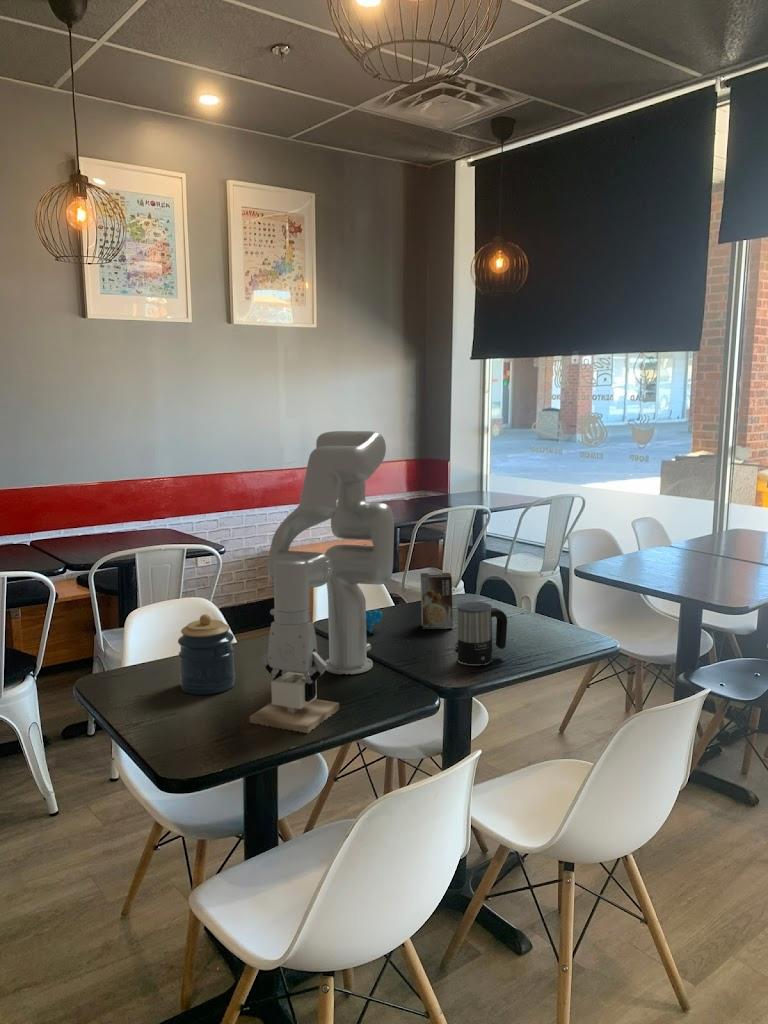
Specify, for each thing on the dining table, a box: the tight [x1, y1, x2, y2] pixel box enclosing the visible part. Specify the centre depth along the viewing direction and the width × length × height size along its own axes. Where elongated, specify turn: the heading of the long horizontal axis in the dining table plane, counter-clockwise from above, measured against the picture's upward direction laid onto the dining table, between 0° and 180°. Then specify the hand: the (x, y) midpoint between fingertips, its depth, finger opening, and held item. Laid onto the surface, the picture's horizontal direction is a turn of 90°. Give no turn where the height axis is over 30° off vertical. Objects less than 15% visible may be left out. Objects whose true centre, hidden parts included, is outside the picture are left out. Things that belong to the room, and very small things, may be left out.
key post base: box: [249, 698, 340, 734], centre depth 171 cm, size 14×14×6 cm
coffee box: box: [420, 572, 454, 628], centre depth 237 cm, size 9×6×16 cm
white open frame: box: [270, 671, 318, 709], centre depth 170 cm, size 7×7×5 cm
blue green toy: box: [366, 609, 383, 632], centre depth 231 cm, size 11×6×10 cm
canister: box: [177, 613, 236, 696], centre depth 189 cm, size 13×13×18 cm
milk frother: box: [455, 601, 508, 664], centre depth 209 cm, size 14×16×15 cm
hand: (294, 696), depth 170 cm, fingers closed on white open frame, 7 cm apart
